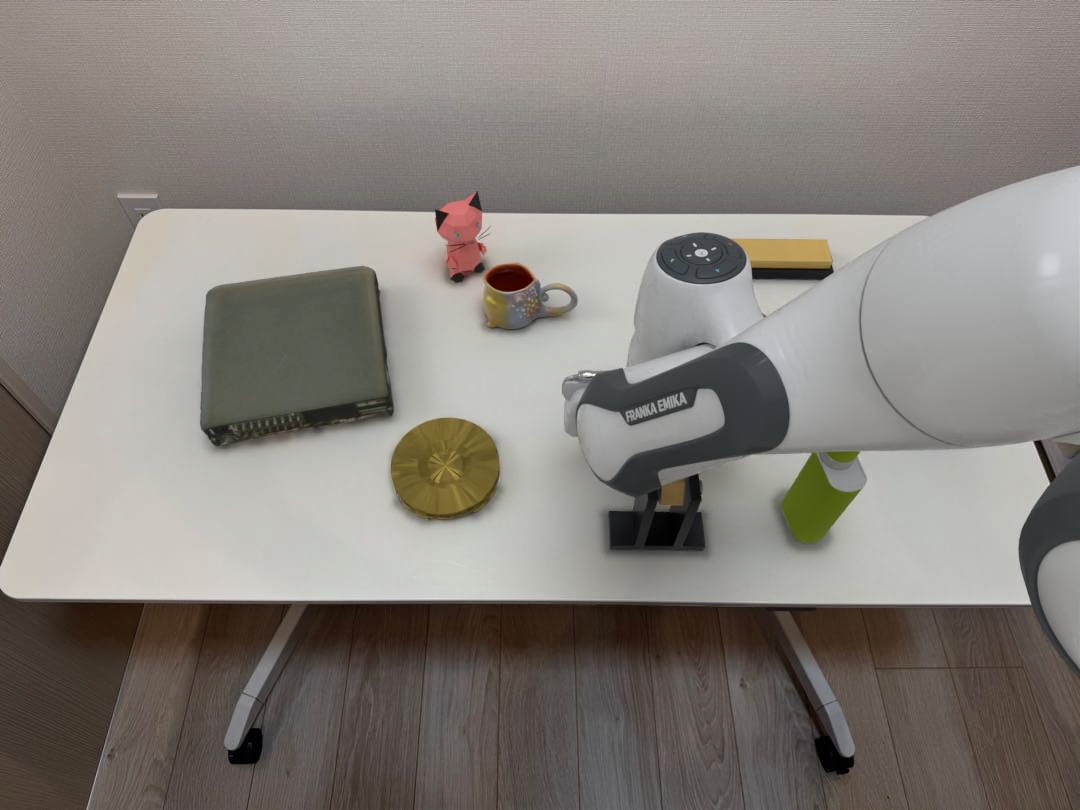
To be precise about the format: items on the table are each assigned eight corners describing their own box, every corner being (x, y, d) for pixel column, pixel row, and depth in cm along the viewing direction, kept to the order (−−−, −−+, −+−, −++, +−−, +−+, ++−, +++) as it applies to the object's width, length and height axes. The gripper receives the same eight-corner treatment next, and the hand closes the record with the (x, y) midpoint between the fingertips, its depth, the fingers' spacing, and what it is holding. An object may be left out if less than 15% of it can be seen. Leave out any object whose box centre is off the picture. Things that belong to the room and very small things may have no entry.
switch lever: (631, 449, 84) (632, 429, 83) (677, 449, 84) (679, 429, 83) (645, 505, 72) (646, 483, 72) (697, 506, 72) (700, 483, 72)
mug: (478, 329, 97) (475, 294, 92) (489, 288, 101) (487, 253, 95) (572, 342, 96) (574, 308, 91) (579, 300, 100) (582, 265, 94)
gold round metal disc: (396, 529, 83) (393, 521, 81) (390, 434, 89) (387, 425, 87) (506, 513, 84) (506, 505, 82) (493, 421, 90) (492, 411, 88)
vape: (808, 490, 85) (874, 391, 69) (828, 540, 82) (904, 449, 65) (776, 496, 85) (835, 398, 68) (795, 546, 82) (863, 456, 65)
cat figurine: (453, 295, 100) (444, 228, 90) (428, 262, 103) (417, 194, 93) (499, 273, 103) (496, 205, 92) (473, 241, 106) (467, 172, 95)
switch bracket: (608, 513, 84) (618, 457, 73) (699, 514, 84) (723, 458, 73) (609, 551, 81) (620, 499, 71) (703, 552, 81) (729, 500, 71)
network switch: (215, 470, 86) (199, 448, 82) (196, 316, 98) (180, 290, 94) (417, 413, 91) (411, 390, 86) (374, 272, 102) (367, 246, 98)
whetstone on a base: (830, 279, 102) (837, 264, 100) (725, 278, 102) (730, 263, 100) (823, 252, 105) (830, 236, 102) (720, 251, 105) (725, 235, 102)
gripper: (562, 400, 71) (559, 472, 82) (784, 401, 71) (750, 473, 82) (562, 346, 74) (559, 422, 86) (773, 347, 74) (742, 423, 86)
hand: (654, 447), depth 84 cm, fingers closed on switch lever, 5 cm apart
